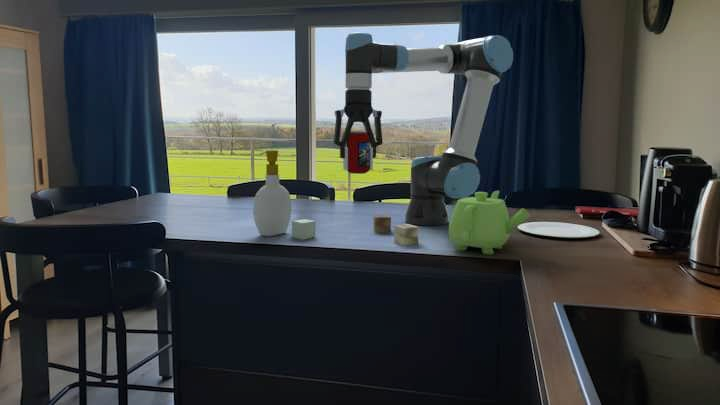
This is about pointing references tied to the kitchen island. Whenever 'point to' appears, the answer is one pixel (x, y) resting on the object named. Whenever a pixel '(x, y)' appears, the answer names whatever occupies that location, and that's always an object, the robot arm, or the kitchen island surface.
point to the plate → (558, 230)
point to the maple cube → (406, 234)
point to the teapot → (483, 222)
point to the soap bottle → (272, 201)
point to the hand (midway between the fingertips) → (357, 169)
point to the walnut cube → (382, 223)
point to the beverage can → (358, 152)
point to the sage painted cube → (303, 229)
